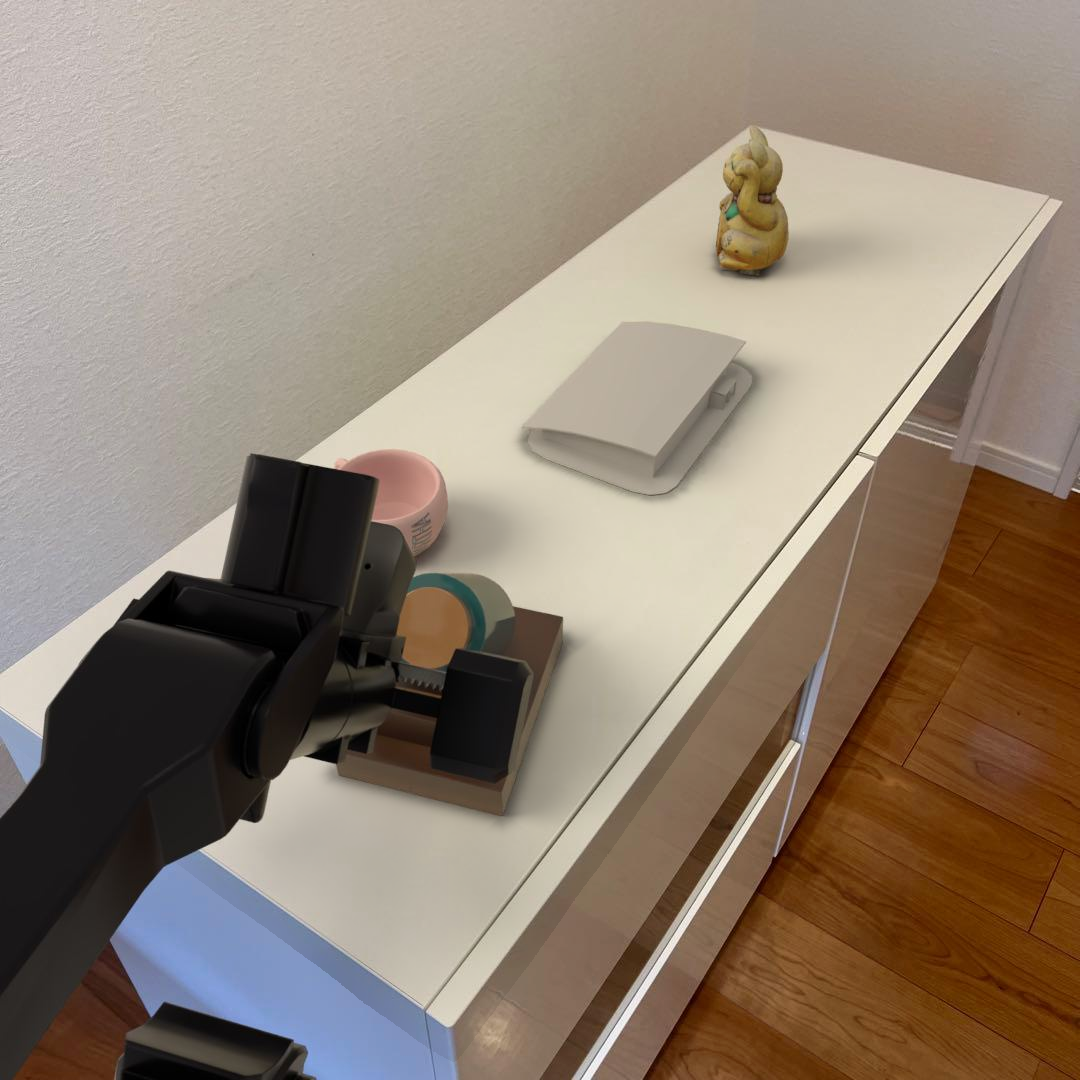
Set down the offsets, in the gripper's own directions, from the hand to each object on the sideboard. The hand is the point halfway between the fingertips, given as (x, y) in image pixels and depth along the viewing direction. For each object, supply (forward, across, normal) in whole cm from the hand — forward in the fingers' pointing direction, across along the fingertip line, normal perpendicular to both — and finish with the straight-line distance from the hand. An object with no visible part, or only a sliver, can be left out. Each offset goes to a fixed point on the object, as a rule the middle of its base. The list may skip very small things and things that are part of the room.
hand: (397, 677), depth 64 cm
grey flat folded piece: (+42, -6, -26) cm, 50 cm away
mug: (+27, +12, -9) cm, 30 cm away
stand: (+16, 0, +3) cm, 16 cm away
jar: (+9, 0, -3) cm, 9 cm away
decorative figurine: (+63, -13, -49) cm, 81 cm away
